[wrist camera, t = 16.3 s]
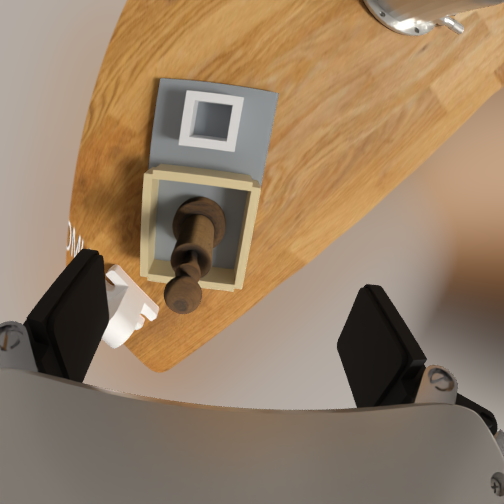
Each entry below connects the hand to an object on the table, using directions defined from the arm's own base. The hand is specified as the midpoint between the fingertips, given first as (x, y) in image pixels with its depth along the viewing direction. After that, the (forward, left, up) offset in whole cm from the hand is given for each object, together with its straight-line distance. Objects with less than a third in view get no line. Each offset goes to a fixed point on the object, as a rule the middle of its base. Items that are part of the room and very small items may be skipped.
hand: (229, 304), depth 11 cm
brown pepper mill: (+3, +8, -28) cm, 29 cm away
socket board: (+3, +2, -29) cm, 29 cm away
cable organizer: (+13, +21, -30) cm, 39 cm away
